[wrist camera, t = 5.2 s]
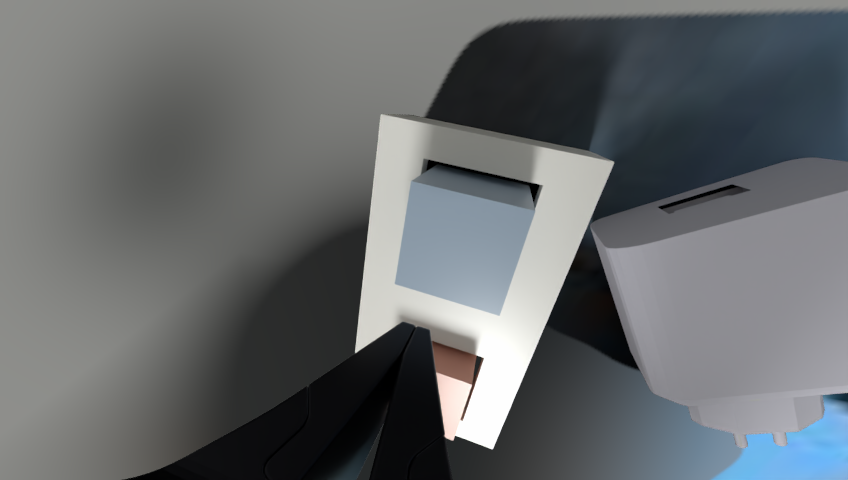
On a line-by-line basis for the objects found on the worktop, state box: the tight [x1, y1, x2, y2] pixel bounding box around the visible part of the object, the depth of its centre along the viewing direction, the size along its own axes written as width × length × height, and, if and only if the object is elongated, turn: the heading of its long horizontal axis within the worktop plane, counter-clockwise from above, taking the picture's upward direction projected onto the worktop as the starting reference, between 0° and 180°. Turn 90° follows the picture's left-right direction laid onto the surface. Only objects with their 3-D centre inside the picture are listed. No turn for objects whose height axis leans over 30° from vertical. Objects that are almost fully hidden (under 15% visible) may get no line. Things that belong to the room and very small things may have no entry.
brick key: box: [432, 341, 476, 440], centre depth 19 cm, size 5×5×4 cm
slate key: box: [395, 165, 535, 316], centre depth 14 cm, size 5×5×4 cm
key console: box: [355, 114, 614, 449], centre depth 19 cm, size 18×10×4 cm, turn 170°
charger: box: [590, 157, 848, 448], centre depth 16 cm, size 5×9×15 cm
